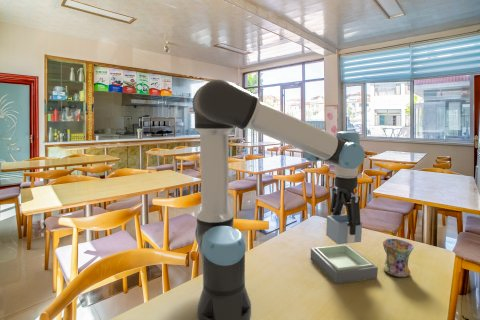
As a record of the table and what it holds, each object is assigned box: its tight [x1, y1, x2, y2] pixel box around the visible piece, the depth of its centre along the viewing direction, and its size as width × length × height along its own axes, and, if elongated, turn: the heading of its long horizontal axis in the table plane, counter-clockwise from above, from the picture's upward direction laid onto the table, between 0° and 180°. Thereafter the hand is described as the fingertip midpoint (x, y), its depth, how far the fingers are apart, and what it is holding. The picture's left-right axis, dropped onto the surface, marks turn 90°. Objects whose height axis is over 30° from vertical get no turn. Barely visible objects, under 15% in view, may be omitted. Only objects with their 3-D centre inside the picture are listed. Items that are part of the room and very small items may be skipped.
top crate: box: [314, 244, 372, 271], centre depth 106 cm, size 13×16×4 cm
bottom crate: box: [310, 243, 379, 285], centre depth 107 cm, size 16×19×4 cm
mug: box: [382, 238, 414, 278], centre depth 104 cm, size 12×9×11 cm
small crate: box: [325, 213, 363, 245], centre depth 105 cm, size 9×8×8 cm
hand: (343, 237), depth 105 cm, fingers closed on small crate, 8 cm apart
